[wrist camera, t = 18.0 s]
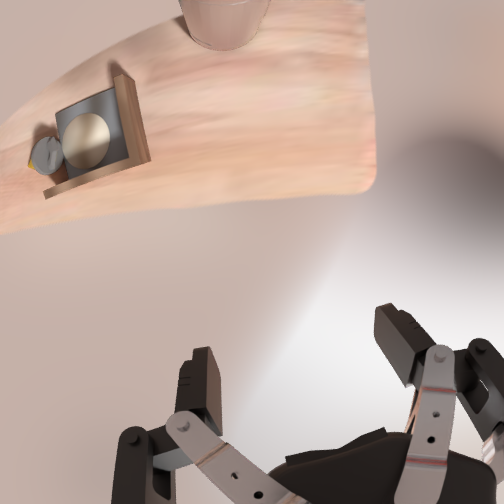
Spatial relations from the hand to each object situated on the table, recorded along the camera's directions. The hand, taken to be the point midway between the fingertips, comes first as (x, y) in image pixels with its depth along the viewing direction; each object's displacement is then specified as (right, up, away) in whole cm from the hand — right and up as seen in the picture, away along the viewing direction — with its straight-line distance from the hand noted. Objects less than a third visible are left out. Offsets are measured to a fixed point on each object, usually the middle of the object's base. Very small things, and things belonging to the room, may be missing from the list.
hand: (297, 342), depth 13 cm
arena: (-24, +20, +20) cm, 37 cm away
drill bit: (-27, +17, +16) cm, 36 cm away
